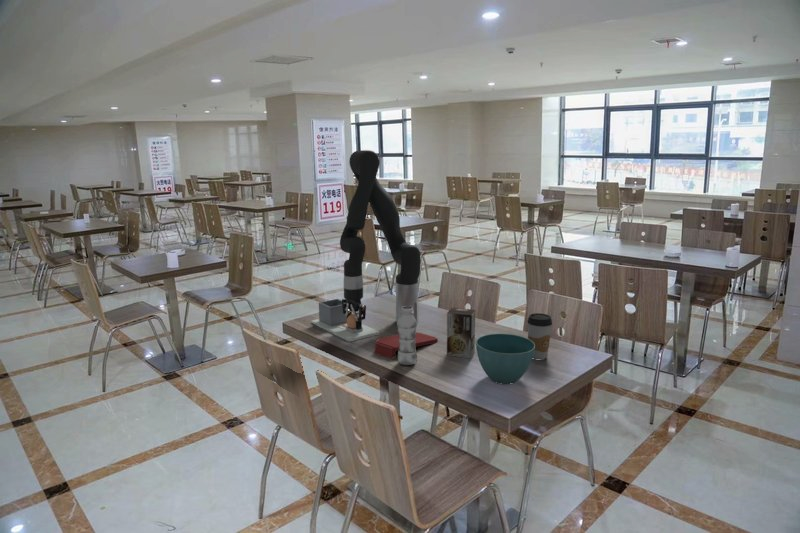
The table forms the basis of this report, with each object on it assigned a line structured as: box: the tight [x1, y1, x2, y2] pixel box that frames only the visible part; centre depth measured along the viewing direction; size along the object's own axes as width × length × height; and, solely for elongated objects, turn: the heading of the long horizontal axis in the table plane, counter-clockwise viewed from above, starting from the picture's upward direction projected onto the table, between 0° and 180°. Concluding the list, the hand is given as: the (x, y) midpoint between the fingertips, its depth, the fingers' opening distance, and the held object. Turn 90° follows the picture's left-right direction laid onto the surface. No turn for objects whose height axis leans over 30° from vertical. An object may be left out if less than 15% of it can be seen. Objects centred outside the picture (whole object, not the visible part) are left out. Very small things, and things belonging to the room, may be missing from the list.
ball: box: [347, 313, 359, 329], centre depth 218 cm, size 6×6×6 cm
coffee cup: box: [527, 312, 553, 360], centre depth 193 cm, size 8×8×15 cm
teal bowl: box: [475, 333, 535, 385], centre depth 175 cm, size 18×18×12 cm
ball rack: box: [311, 298, 380, 342], centre depth 224 cm, size 29×14×9 cm, turn 38°
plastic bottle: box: [396, 306, 418, 366], centre depth 187 cm, size 6×7×20 cm
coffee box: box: [446, 307, 476, 359], centre depth 196 cm, size 9×6×16 cm
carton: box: [374, 332, 438, 359], centre depth 205 cm, size 12×5×25 cm
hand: (354, 327), depth 219 cm, fingers closed on ball, 6 cm apart
